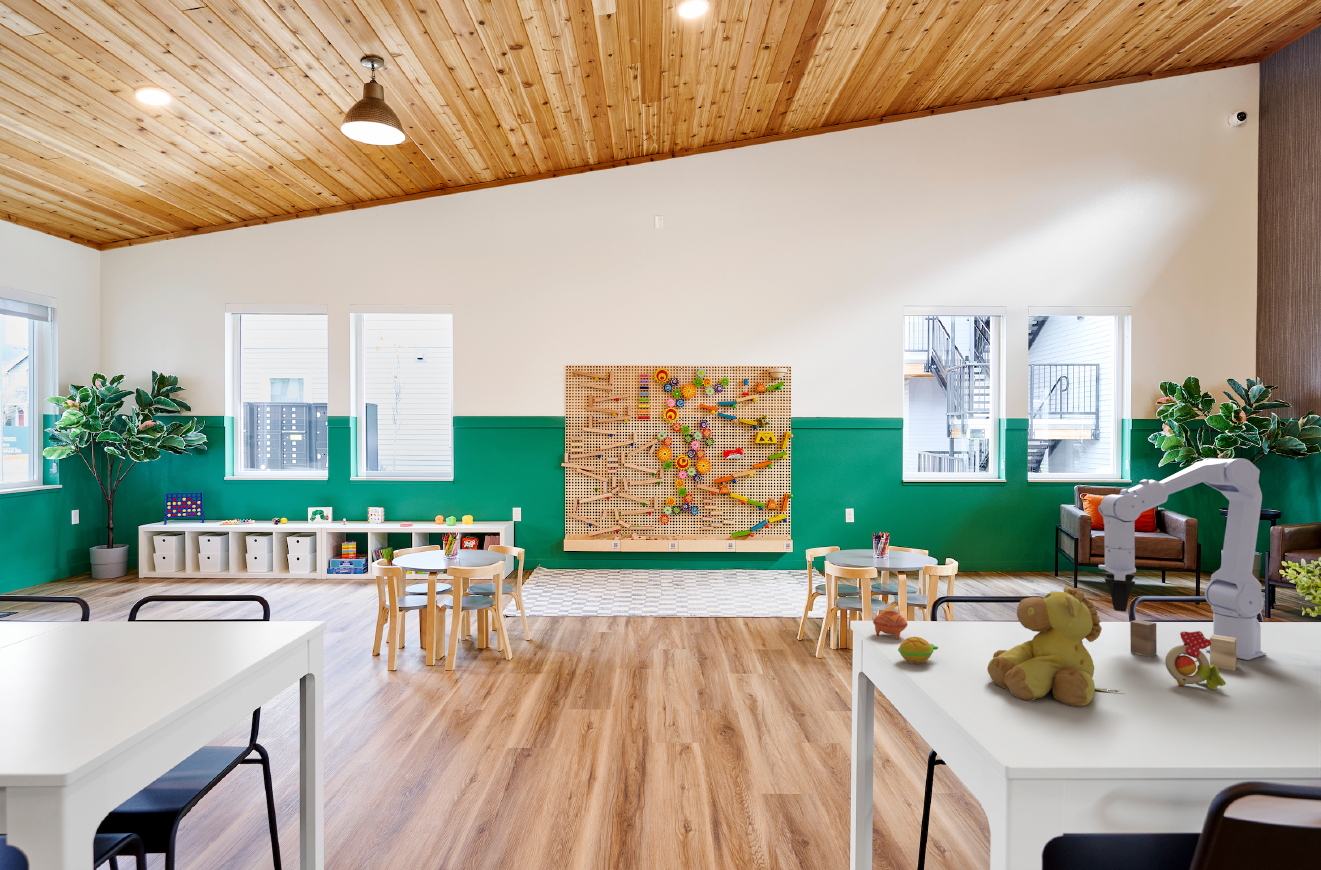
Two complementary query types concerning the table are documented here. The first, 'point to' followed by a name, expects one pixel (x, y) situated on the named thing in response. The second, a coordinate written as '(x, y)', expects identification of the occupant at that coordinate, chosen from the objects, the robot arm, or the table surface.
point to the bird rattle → (1192, 662)
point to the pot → (889, 623)
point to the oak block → (1223, 652)
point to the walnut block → (1143, 638)
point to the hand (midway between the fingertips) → (1119, 607)
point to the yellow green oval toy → (916, 650)
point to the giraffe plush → (1052, 650)
